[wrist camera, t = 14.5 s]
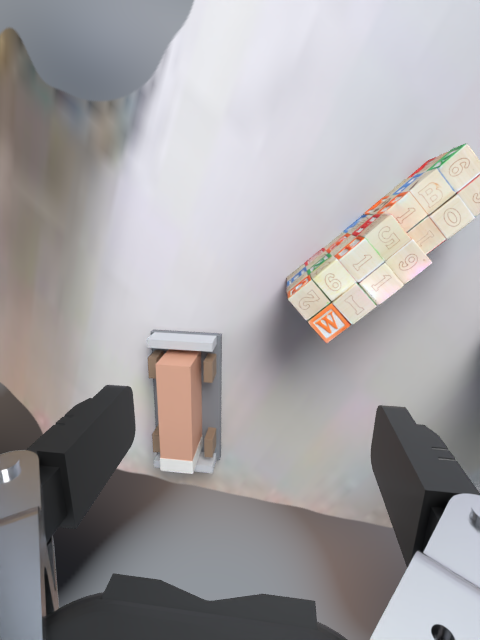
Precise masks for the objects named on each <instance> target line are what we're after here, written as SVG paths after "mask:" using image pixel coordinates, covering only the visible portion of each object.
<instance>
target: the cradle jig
mask: <svg viewBox="0 0 480 640" xmlns="http://www.w3.org/2000/svg"><path fill="white" fill-rule="evenodd" d="M147 348H152V354H151V355H150V356H149V357H148V371H149V378H153V382H154V400H155V418H156V429H155V431H154V432H153V434H152V439H153V452H157V455H156V457H155V459H154V467H157V468H160V439H159V420H158V402H157V383H156V365H155V364H156V363H157V362H158V361H159V360H160V359H161V357H162V356H163V355H164V354H165V353H166V352H167V350H168V349H176V350H191V351H201V380H202V435H203V447H202V449H201V452H200V455H199V458H198V461H197V464H196V467H195V470H194V471H196V472H206V473H213V470H214V466H215V462H216V460H220V457H221V358H222V334H218V333H201V332H184V331H167V330H152V331H151V336H150V337H149V338H147Z"/></svg>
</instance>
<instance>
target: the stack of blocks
mask: <svg viewBox="0 0 480 640" xmlns="http://www.w3.org/2000/svg"><path fill="white" fill-rule="evenodd" d="M479 214H480V160H479V159H478V157H477V156H476V155H475V154H474V152H473V151H472V149H471V148H470V147H469V145H468V144H463V145H461V146H458V147H456V148H454V149H452V150H450V151H449V152H446V153H444V154H441V155H439V156H438V157H435V158H432V159H430V160H428V161H427V162H426V163H424V164H423V165H422V166H421V167H420V168H419V169H418V170H416V171H415V172H414V173H413V174H412V175H411V176H409V177H408V178H407V179H405V180H403V181H402V182H401V183H400V184H399V185H397V186H396V187H395V188H394V189H393V190H391V191H390V192H389V193H388V194H387V195H386V196H385V197H383V198H382V199H381V200H379V201H378V202H377V203H376V204H375V205H373V206H372V207H371V208H370V209H369V210H367V211H366V212H365V213H364V214H363V215H362V216H361V217H360V218H359V219H358V220H356V221H355V222H354V223H353V224H352V225H350V226H349V227H348V228H347V229H346V230H344V231H343V232H342V233H341V234H340V235H339V236H337V237H336V238H335V239H334V240H333V241H331V242H330V243H329V244H328V245H327V246H325V247H324V248H322V249H321V250H320V251H318V252H317V253H316V254H315V255H314V256H312V257H311V258H310V259H309V260H308V261H306V262H305V263H304V264H303V265H301V266H300V267H299V268H298V269H296V270H295V271H294V272H293V273H292V274H290V275H289V276H288V277H287V278H286V279H287V288H286V292H287V295H288V300H289V301H290V302H291V304H292V305H293V306H294V307H295V308H296V309H297V311H298V312H299V313H300V314H301V315H302V316H303V318H304V319H305V320H307V321H308V323H309V324H310V325H311V327H312V328H313V329H314V330H315V331H316V332H317V333H318V335H319V336H320V337H321V338H322V339H323V340H324V341H325V342H326V343H328V342H330V341H331V340H332V339H334V338H335V337H336V336H338V335H339V334H340V333H342V332H343V331H344V330H346V329H347V328H348V327H349V326H350V325H353V324H355V323H356V322H357V321H359V320H360V319H361V318H363V317H364V316H365V315H366V314H368V313H369V312H370V311H371V310H373V309H374V308H375V307H376V306H377V305H380V304H381V303H383V302H384V301H385V300H387V299H388V298H389V297H390V296H392V295H393V294H394V293H395V292H397V291H398V290H399V289H401V288H402V287H403V286H404V284H406V283H408V282H409V281H410V280H412V279H413V278H414V277H415V276H417V275H418V274H419V273H421V272H422V271H423V270H424V269H426V268H427V267H428V266H429V265H431V264H432V261H431V260H430V259H429V258H428V257H427V254H428V253H429V252H431V251H432V250H433V249H435V248H436V247H437V246H439V245H440V244H441V243H443V242H444V241H445V240H447V239H449V238H450V237H452V236H453V235H454V234H456V233H457V232H459V231H460V230H461V229H462V228H464V227H465V226H466V225H468V224H469V223H470V222H472V221H473V220H474V219H475V217H476V216H477V215H479Z"/></svg>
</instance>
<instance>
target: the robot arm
mask: <svg viewBox="0 0 480 640" xmlns="http://www.w3.org/2000/svg"><path fill="white" fill-rule="evenodd" d="M134 437H135V415H134V403H133V392H132V389H131V387H129V386H117V385H106V386H105V387H104V388H103V389H102V390H101V391H100V392H99V393H98V394H96V395H95V396H94V397H93V398H89V399H87V400H85V401H83V402H81V403H79V404H77V405H75V406H74V407H73V408H72V409H71V410H70V411H69V412H67V413H66V414H65V416H64V417H62V418H61V419H60V420H59V421H58V422H56V425H53V426H52V427H51V428H50V429H49V430H48V431H46V432H45V433H44V434H43V435H42V436H41V437H40V438H39V439H38V440H37V441H35V442H34V443H33V444H32V445H31V446H30V447H29V448H28V449H27V450H17V451H11V452H7V453H4V454H1V455H0V640H347V639H346V638H345V637H343V636H342V635H340V634H339V633H338V632H336V631H334V630H332V629H331V628H329V627H327V626H325V625H323V624H321V623H319V622H317V619H316V606H315V601H311V600H304V599H297V598H289V597H282V596H275V595H266V594H259V595H252V596H245V597H237V598H230V599H223V600H215V601H207V600H204V599H201V598H199V597H197V596H195V595H192V594H190V593H188V592H186V591H183V590H181V589H179V588H177V587H175V586H172V585H170V584H168V583H166V582H163V581H162V580H157V579H149V578H142V577H135V576H127V575H120V574H113V575H112V577H111V579H110V581H109V583H108V585H107V588H106V589H105V591H104V592H103V593H97V594H94V595H90V596H86V597H84V598H81V599H78V600H76V601H73V602H71V603H69V604H67V605H65V606H63V607H61V608H59V602H58V590H57V577H56V565H55V552H54V542H53V537H52V535H53V534H54V533H55V531H56V530H57V529H58V527H64V528H72V529H76V528H77V527H78V525H79V524H80V522H81V521H82V519H83V518H84V516H85V515H86V513H87V512H88V510H89V509H90V507H91V506H92V504H93V503H94V501H95V500H96V498H97V497H98V495H99V494H100V492H101V491H102V489H103V488H104V486H105V485H106V483H107V482H108V480H109V479H110V477H111V476H112V474H113V473H114V471H115V470H116V468H117V467H118V465H119V464H120V462H121V461H122V459H123V458H124V456H125V455H126V453H127V452H128V450H129V449H130V447H131V445H132V443H133V440H134ZM371 464H372V469H373V472H374V475H375V477H376V480H377V483H378V486H379V489H380V492H381V494H382V497H383V500H384V503H385V506H386V509H387V511H388V514H389V517H390V520H391V523H392V526H393V528H394V531H395V534H396V537H397V540H398V543H399V545H400V548H401V551H402V554H403V557H404V559H405V562H406V565H407V570H406V572H405V574H404V576H403V578H402V579H401V581H400V583H399V585H398V587H397V589H396V591H395V593H394V595H393V596H392V598H391V600H390V602H389V604H388V606H387V608H386V610H385V612H384V614H383V615H382V617H381V619H380V621H379V623H378V625H377V627H376V629H375V631H374V632H373V634H372V637H371V638H370V640H480V493H479V492H478V490H477V489H476V487H475V486H474V485H473V483H472V482H471V480H470V479H469V478H468V476H467V475H466V473H465V472H464V471H463V469H462V468H461V466H460V465H459V464H458V462H457V461H455V458H454V456H453V455H452V454H451V452H450V451H448V448H447V447H446V445H445V444H444V442H443V441H442V440H441V438H440V437H439V436H438V435H437V434H436V433H434V432H433V431H432V430H430V429H429V428H428V427H426V426H425V425H418V424H416V423H415V421H414V420H413V418H412V416H411V415H410V413H409V412H408V410H407V409H406V408H405V407H396V406H382V405H380V406H378V408H377V411H376V418H375V425H374V432H373V438H372V445H371Z"/></svg>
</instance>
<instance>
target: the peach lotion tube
mask: <svg viewBox="0 0 480 640" xmlns="http://www.w3.org/2000/svg"><path fill="white" fill-rule="evenodd" d="M155 365H156V383H157V402H158V420H159V439H160V469H161V471H169V472H179V473H189V474H193V472H194V470H195V467H196V464H197V461H198V458H199V455H200V452H201V449H202V447H203V435H202V380H201V351H191V350H176V349H168V350H167V352H166V353H165V354H164V355H163V356H162V357H161V359H160V360H159V361H158V362H157V363H156V364H155Z"/></svg>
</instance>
